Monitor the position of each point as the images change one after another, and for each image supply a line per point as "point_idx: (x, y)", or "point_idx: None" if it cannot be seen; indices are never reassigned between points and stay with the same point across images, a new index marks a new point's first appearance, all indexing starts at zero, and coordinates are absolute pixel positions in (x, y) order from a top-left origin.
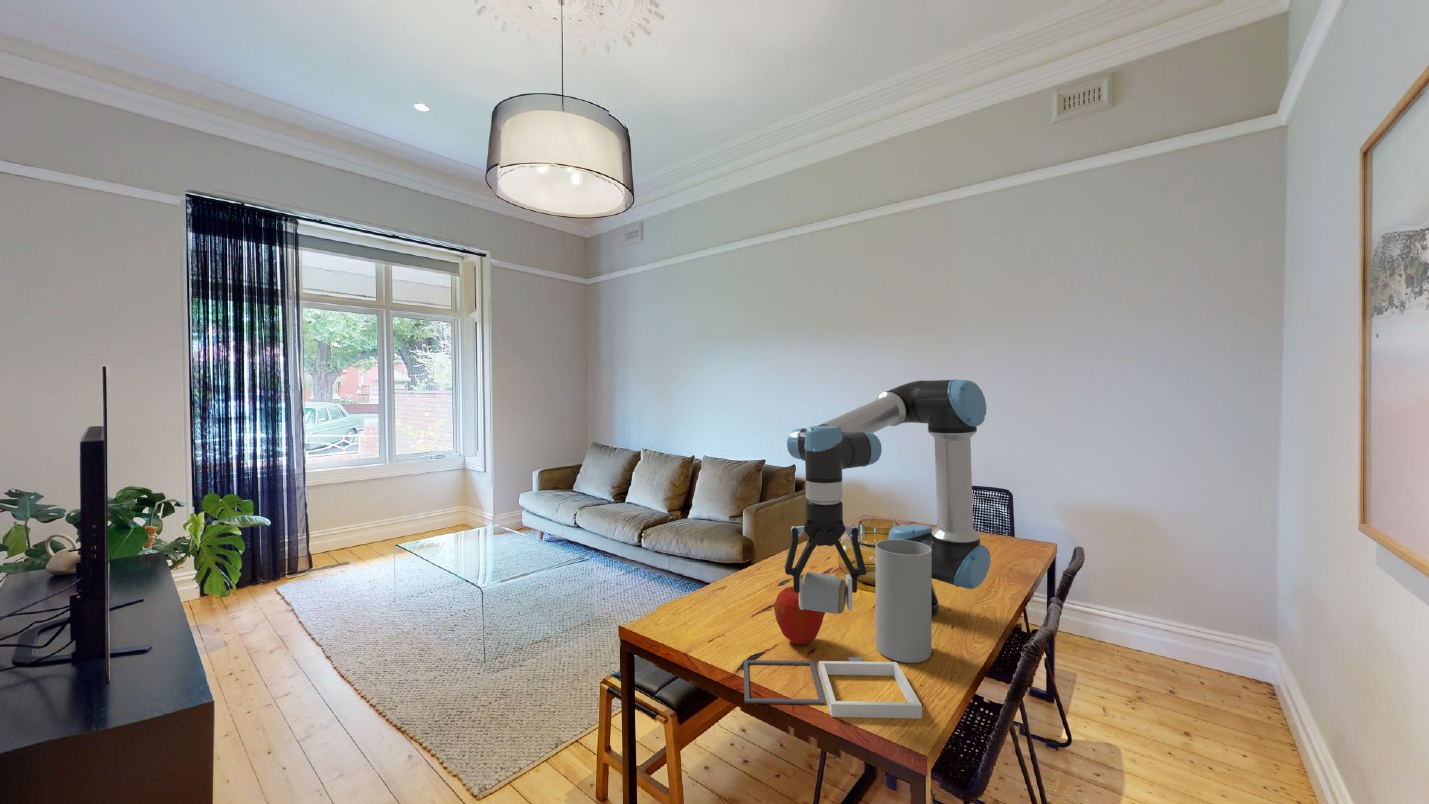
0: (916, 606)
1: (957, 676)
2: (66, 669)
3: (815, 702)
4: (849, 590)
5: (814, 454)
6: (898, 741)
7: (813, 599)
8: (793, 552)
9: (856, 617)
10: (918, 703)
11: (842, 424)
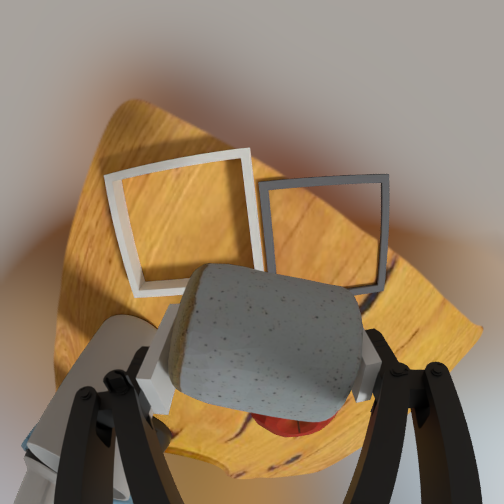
0: (77, 371)
1: (72, 287)
2: None
3: (275, 180)
4: (159, 345)
5: None
6: (152, 109)
7: (312, 285)
8: (457, 451)
9: (201, 413)
10: (107, 179)
11: None
